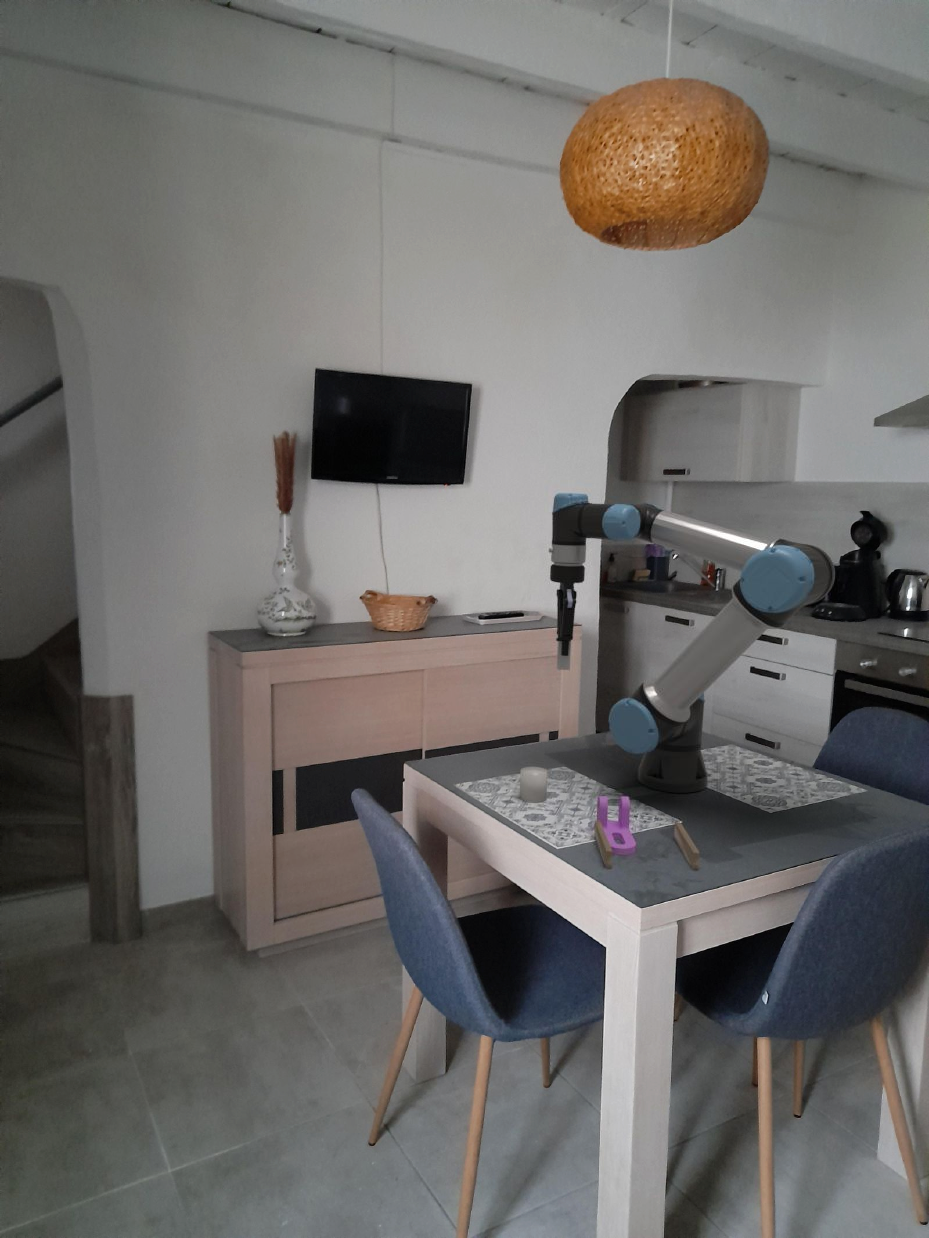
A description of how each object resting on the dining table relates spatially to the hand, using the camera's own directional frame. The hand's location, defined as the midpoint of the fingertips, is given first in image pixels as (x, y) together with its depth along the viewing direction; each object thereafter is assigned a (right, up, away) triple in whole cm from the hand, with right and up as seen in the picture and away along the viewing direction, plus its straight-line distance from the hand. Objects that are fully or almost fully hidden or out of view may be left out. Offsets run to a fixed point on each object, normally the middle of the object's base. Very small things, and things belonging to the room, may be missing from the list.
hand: (563, 668), depth 198 cm
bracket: (+6, -30, -34) cm, 46 cm away
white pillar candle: (-8, -27, -12) cm, 30 cm away
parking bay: (+10, -31, -39) cm, 51 cm away
